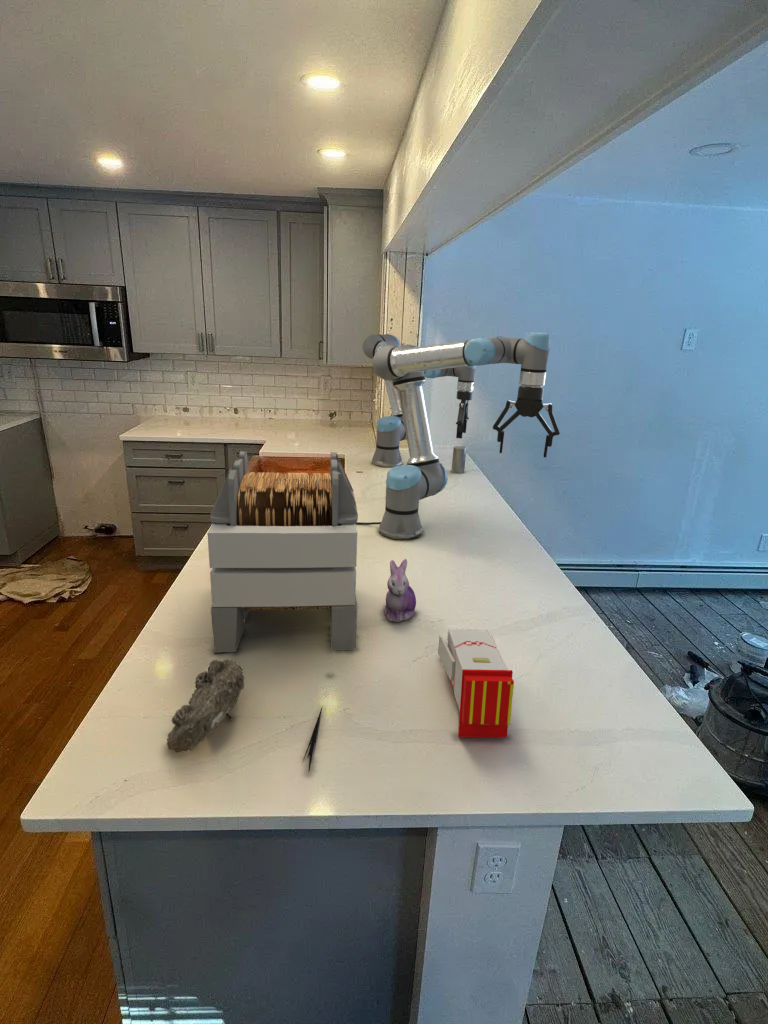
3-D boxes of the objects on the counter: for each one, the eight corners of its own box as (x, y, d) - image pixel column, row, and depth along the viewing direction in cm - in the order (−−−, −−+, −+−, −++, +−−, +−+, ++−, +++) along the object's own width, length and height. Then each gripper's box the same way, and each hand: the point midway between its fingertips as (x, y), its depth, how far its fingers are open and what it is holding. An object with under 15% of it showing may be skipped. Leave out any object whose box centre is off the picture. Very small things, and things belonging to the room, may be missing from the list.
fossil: (192, 660, 117) (244, 628, 112) (224, 691, 120) (276, 661, 115) (142, 746, 98) (202, 712, 93) (182, 779, 101) (242, 748, 96)
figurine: (392, 627, 141) (395, 572, 136) (374, 608, 149) (376, 556, 144) (425, 619, 145) (429, 566, 140) (405, 601, 154) (408, 550, 149)
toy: (488, 613, 130) (523, 677, 101) (484, 667, 133) (517, 744, 104) (435, 612, 130) (455, 676, 101) (432, 666, 133) (451, 743, 103)
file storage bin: (232, 584, 158) (225, 442, 144) (349, 583, 162) (353, 444, 148) (211, 655, 127) (198, 480, 113) (357, 651, 130) (362, 482, 117)
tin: (457, 473, 277) (460, 449, 273) (448, 470, 281) (450, 446, 277) (466, 472, 281) (469, 448, 276) (457, 469, 285) (459, 445, 281)
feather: (331, 679, 122) (336, 673, 122) (307, 777, 96) (313, 769, 95) (324, 675, 122) (329, 669, 121) (298, 772, 95) (304, 764, 95)
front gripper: (573, 387, 172) (563, 455, 179) (490, 381, 178) (483, 447, 185) (575, 390, 165) (564, 461, 173) (488, 384, 171) (481, 453, 178)
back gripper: (469, 395, 255) (465, 441, 262) (476, 388, 278) (472, 431, 285) (453, 393, 257) (449, 439, 264) (460, 387, 279) (457, 429, 287)
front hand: (522, 454), depth 179 cm, fingers open, 13 cm apart
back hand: (461, 435), depth 274 cm, fingers open, 13 cm apart
